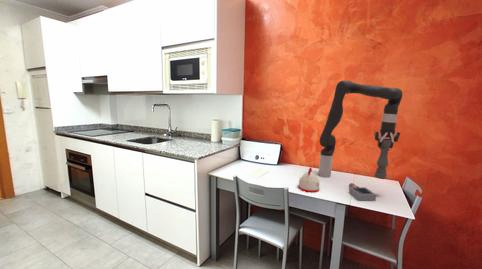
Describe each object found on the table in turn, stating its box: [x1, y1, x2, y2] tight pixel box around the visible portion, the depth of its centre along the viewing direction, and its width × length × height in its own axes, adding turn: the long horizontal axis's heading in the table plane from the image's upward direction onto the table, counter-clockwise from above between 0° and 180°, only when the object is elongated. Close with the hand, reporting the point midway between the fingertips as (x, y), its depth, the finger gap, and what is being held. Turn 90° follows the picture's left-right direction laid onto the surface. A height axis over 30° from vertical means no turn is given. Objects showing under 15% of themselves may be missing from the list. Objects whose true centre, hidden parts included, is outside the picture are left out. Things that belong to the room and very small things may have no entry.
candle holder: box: [374, 137, 392, 180], centre depth 141 cm, size 6×6×25 cm
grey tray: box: [348, 182, 377, 202], centre depth 146 cm, size 18×11×5 cm, turn 3°
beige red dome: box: [297, 166, 320, 194], centre depth 152 cm, size 14×14×15 cm
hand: (384, 147), depth 139 cm, fingers closed on candle holder, 5 cm apart
